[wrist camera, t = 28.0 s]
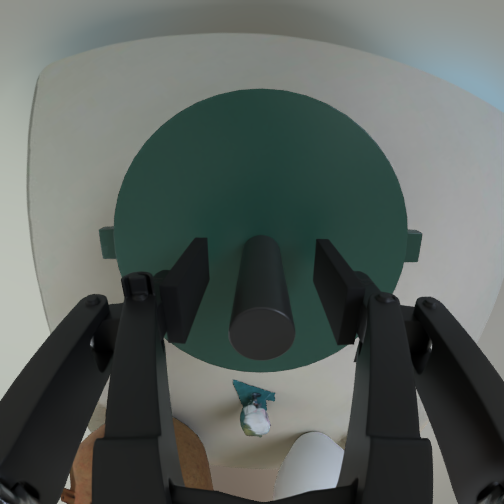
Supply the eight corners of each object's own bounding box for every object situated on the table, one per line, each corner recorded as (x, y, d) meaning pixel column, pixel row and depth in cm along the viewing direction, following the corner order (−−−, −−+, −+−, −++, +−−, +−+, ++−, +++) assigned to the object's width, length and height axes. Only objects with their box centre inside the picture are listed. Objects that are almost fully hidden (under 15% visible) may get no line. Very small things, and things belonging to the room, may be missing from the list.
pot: (144, 364, 37) (68, 540, 9) (250, 438, 43) (244, 583, 14) (85, 406, 43) (30, 515, 14) (172, 463, 48) (149, 568, 20)
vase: (356, 438, 43) (383, 555, 17) (290, 459, 46) (296, 573, 19) (336, 404, 39) (369, 558, 13) (258, 430, 42) (254, 573, 15)
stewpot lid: (114, 106, 16) (12, 85, 6) (407, 110, 16) (509, 91, 6) (144, 355, 23) (101, 441, 13) (373, 357, 22) (412, 445, 13)
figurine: (308, 418, 38) (300, 455, 32) (257, 420, 42) (244, 453, 35) (286, 368, 36) (273, 409, 29) (229, 373, 39) (210, 409, 32)
